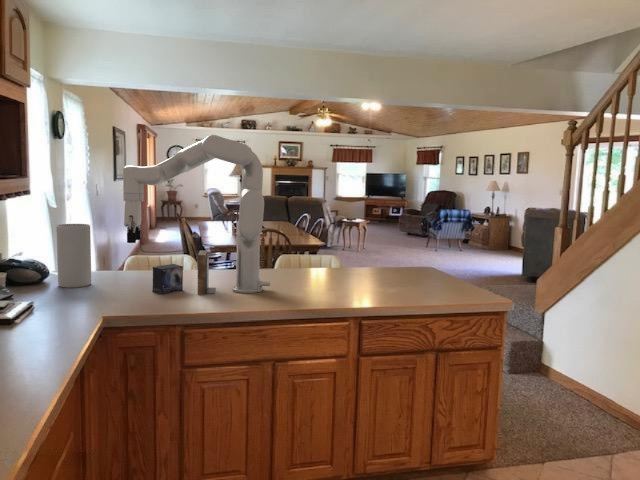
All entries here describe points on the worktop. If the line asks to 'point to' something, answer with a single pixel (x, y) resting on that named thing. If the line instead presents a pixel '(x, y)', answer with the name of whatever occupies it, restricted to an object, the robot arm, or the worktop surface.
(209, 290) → the metal bookend
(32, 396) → the worktop surface
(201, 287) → the walnut block
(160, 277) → the small box
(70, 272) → the cylinder vase
